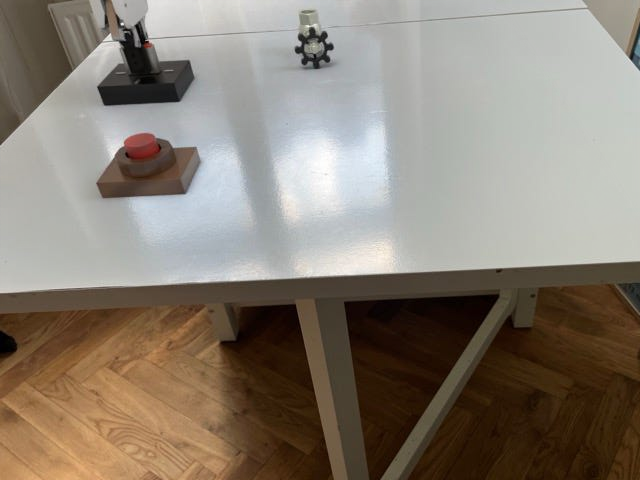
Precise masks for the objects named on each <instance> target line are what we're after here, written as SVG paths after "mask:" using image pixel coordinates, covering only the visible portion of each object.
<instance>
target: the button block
mask: <svg viewBox="0 0 640 480" xmlns="http://www.w3.org/2000/svg"><path fill="white" fill-rule="evenodd" d="M155 138H156V141H157V143H158V146H159V152H158V153H157V154H155V155H153V156H151V157H148V158H144V159H130V158H129V156H128V153H127V151H126V148H125V146H124V145H123V146H121V147H120V148H118V150H117V151H116V152H115V154H114V155H113V156H114V157H113V158H112V159H111V161H110V162H109V164H108V165H107V166H106V168H105V169H104V171H103V172H102V173H101V174H100V176H99V178H98V179H97V181H96V182H95V185H96V187H97V189H98V191H99V193H100V196H101V198H102V199H115V198H116V199H118V198H135V197H137V198H139V197H154V196H155V197H158V196H179V195H187V192H188V190H189V188H190V186H191V184H192V181H193V179H194V177H195V176H196V173H197V171H198V169H199V166H200V164H201V161H202V160H201V158H200V154H199V150H198V147H197V146H184V147H173V145H172V144H171V142H170V140H168V139H164V138H160V137H155Z"/></svg>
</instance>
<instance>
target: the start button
mask: <svg viewBox="0 0 640 480" xmlns="http://www.w3.org/2000/svg"><path fill="white" fill-rule="evenodd" d="M156 138H157V137H156V136H155V134H153V133H150V132H141V133H135V134H133V135H130V136H128V137H127V138H126V139H124V141H123V146H125V148H126V151H127V153H128V156H129V158H130V159H144V158H148V157H151V156H153V155H155V154H157V153H158V152H159V146H158V143H157V141H156Z"/></svg>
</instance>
